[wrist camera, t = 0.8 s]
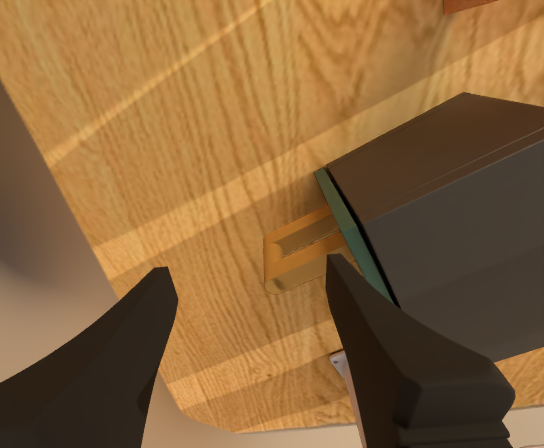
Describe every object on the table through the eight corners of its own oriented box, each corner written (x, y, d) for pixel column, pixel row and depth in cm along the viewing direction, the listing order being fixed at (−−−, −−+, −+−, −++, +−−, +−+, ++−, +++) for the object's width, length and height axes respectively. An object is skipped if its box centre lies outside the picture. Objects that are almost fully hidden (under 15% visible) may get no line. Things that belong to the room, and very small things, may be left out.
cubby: (389, 296, 28) (435, 381, 21) (325, 164, 21) (361, 224, 14) (494, 254, 26) (587, 333, 19) (463, 91, 19) (595, 115, 11)
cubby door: (327, 322, 30) (348, 406, 22) (248, 207, 22) (242, 278, 15) (387, 298, 28) (430, 380, 21) (323, 167, 21) (356, 225, 14)
